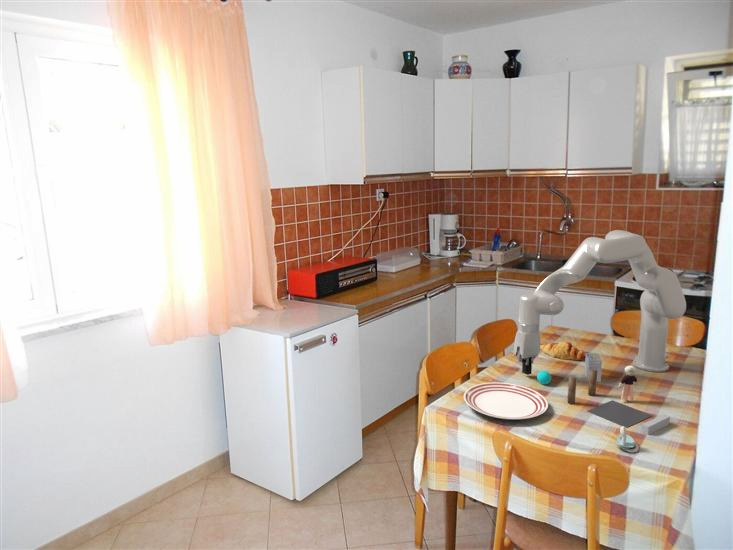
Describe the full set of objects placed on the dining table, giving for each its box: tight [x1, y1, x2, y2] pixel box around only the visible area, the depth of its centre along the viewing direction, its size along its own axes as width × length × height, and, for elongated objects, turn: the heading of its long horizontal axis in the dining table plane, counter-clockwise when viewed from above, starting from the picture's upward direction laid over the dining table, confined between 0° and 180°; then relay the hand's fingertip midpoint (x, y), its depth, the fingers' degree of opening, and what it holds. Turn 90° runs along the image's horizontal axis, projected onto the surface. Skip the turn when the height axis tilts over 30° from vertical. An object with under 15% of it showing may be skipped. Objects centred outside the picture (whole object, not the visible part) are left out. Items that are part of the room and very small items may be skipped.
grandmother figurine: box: [617, 365, 639, 404], centre depth 185 cm, size 8×4×13 cm, turn 118°
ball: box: [536, 370, 552, 385], centre depth 201 cm, size 5×5×5 cm
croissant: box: [540, 341, 586, 361], centre depth 230 cm, size 21×10×8 cm, turn 47°
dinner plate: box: [463, 381, 549, 420], centre depth 183 cm, size 28×27×3 cm
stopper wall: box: [640, 413, 671, 435], centre depth 167 cm, size 12×2×2 cm, turn 123°
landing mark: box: [586, 399, 653, 429], centre depth 177 cm, size 14×14×1 cm
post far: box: [567, 376, 577, 405], centre depth 185 cm, size 2×2×9 cm
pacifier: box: [615, 426, 640, 453], centre depth 156 cm, size 7×6×6 cm
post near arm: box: [587, 369, 597, 397], centre depth 191 cm, size 2×2×9 cm
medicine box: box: [584, 352, 603, 383], centre depth 205 cm, size 8×4×9 cm, turn 168°
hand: (526, 373), depth 208 cm, fingers closed
